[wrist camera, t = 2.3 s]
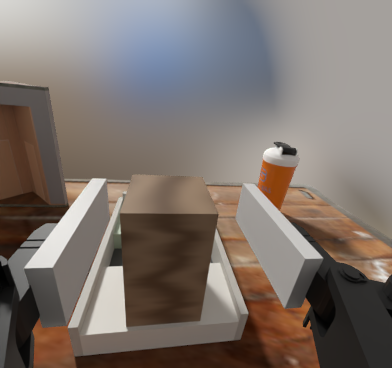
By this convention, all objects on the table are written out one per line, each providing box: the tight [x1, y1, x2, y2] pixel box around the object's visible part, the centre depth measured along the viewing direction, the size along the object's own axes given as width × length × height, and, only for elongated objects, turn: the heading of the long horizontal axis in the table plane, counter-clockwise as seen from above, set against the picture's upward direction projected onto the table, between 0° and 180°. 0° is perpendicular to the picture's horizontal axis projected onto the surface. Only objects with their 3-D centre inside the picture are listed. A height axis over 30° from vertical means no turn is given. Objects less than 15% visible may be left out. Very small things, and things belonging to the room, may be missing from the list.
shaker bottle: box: [258, 142, 299, 211], centre depth 57 cm, size 9×9×20 cm
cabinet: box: [0, 81, 68, 207], centre depth 50 cm, size 21×10×28 cm, turn 98°
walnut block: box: [120, 174, 218, 327], centre depth 26 cm, size 9×9×16 cm
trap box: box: [68, 192, 249, 356], centre depth 39 cm, size 21×30×7 cm
